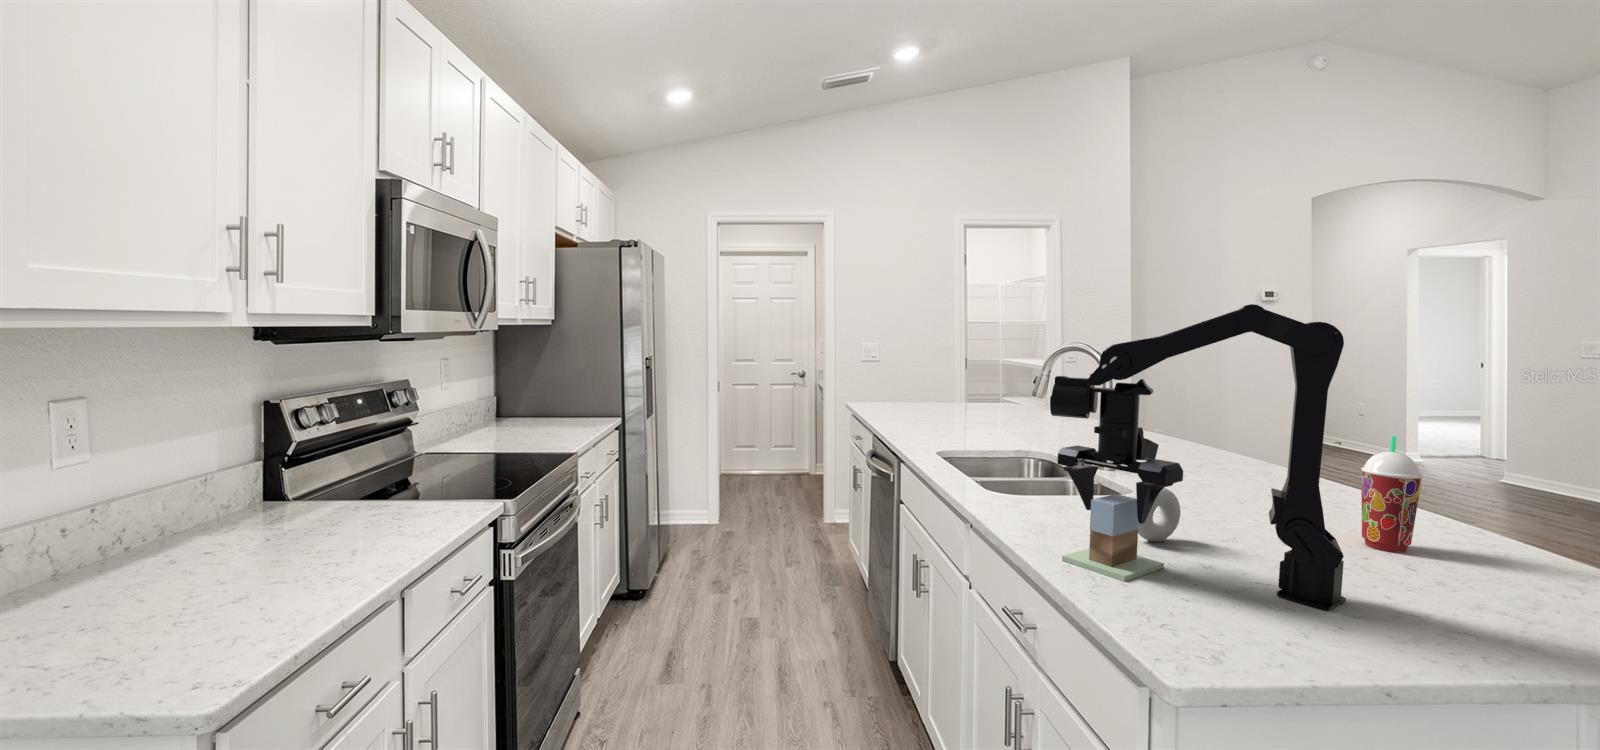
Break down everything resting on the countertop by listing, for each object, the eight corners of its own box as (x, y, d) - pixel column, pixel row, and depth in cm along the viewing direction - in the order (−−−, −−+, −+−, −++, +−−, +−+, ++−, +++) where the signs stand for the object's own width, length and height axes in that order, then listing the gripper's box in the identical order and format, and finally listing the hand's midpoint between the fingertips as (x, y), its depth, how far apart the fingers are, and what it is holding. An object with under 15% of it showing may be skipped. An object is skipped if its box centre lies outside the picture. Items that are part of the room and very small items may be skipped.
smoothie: (1429, 555, 121) (1439, 440, 120) (1380, 554, 121) (1389, 439, 120) (1390, 540, 130) (1398, 432, 128) (1344, 539, 130) (1351, 432, 128)
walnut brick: (1136, 559, 115) (1138, 529, 115) (1111, 567, 111) (1113, 536, 111) (1114, 552, 119) (1115, 523, 118) (1089, 559, 115) (1090, 529, 114)
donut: (1141, 546, 124) (1144, 491, 123) (1126, 541, 127) (1128, 486, 127) (1183, 541, 128) (1186, 486, 127) (1167, 535, 131) (1170, 482, 130)
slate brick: (1137, 529, 115) (1139, 499, 115) (1112, 536, 111) (1114, 505, 111) (1114, 523, 118) (1116, 494, 118) (1089, 529, 114) (1091, 499, 114)
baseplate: (1163, 567, 114) (1163, 563, 114) (1124, 581, 108) (1124, 576, 107) (1101, 549, 123) (1101, 544, 123) (1062, 560, 117) (1062, 555, 117)
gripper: (1204, 424, 110) (1199, 522, 111) (1096, 411, 126) (1092, 497, 127) (1165, 430, 104) (1160, 534, 105) (1056, 415, 119) (1053, 506, 121)
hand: (1114, 516), depth 115 cm, fingers open, 9 cm apart
